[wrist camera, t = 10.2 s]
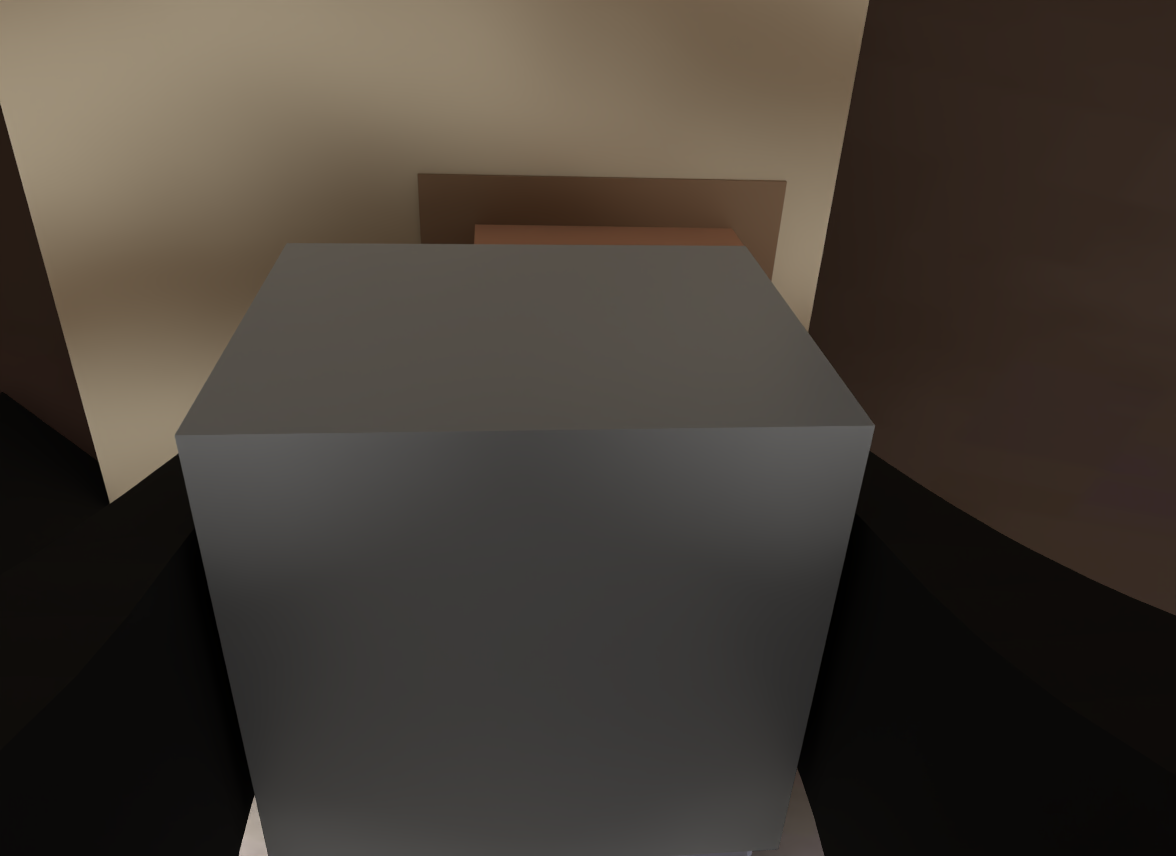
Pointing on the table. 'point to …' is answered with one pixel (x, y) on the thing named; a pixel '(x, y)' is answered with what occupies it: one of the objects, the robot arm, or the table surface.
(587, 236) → the terracotta brick
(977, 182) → the table surface
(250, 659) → the grey brick
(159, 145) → the board
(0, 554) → the book
